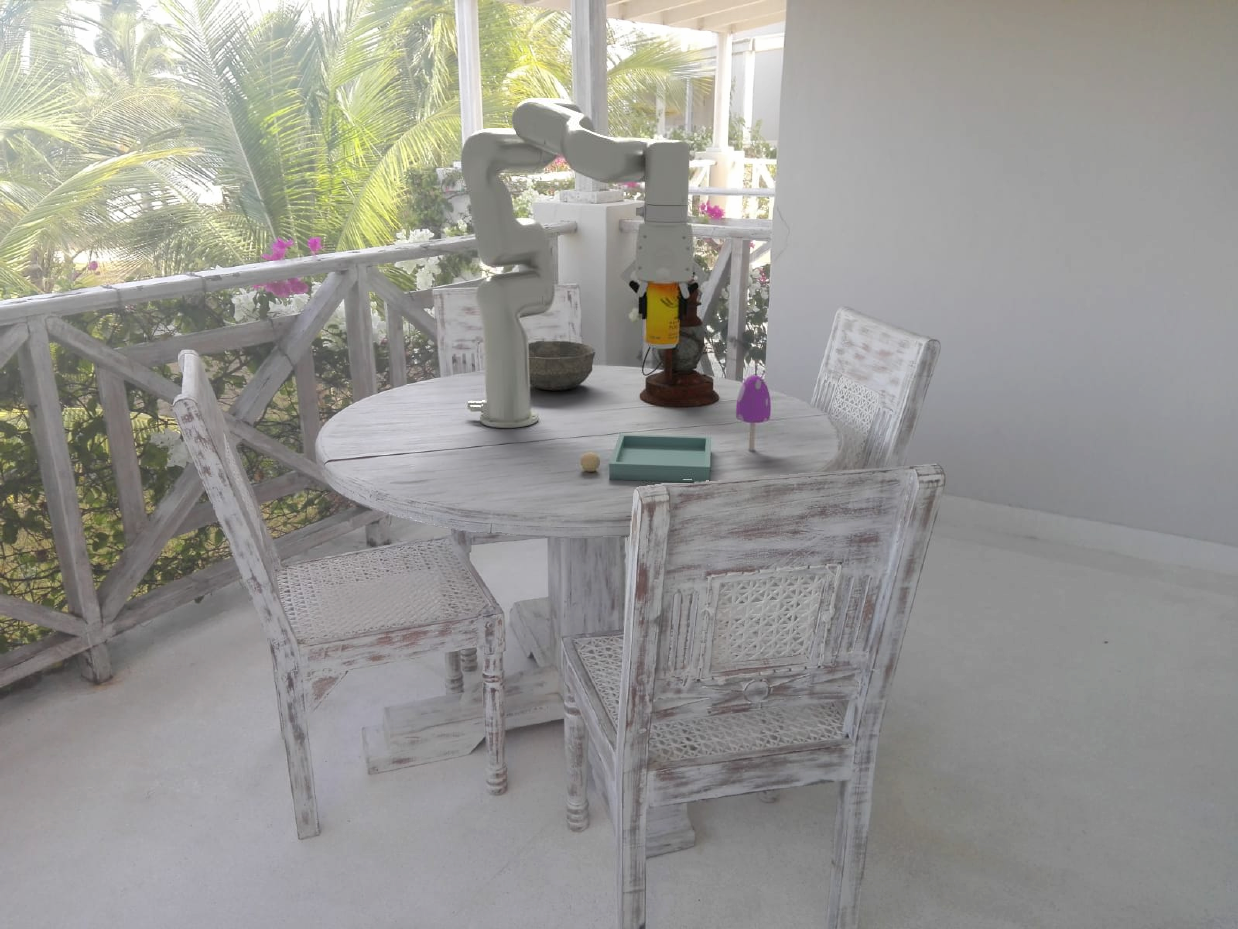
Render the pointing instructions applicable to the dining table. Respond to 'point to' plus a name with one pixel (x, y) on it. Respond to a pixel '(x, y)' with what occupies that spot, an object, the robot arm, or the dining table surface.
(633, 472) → the tray
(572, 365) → the bowl
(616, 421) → the dining table surface
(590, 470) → the cork ball
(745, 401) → the toy
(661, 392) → the lantern
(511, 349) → the robot arm
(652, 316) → the beer can
